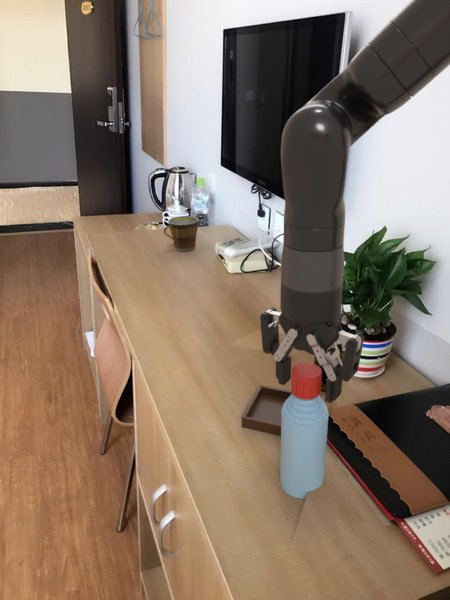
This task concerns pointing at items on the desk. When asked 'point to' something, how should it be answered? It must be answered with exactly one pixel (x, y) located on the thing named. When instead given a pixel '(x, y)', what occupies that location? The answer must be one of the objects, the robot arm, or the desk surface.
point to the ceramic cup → (183, 232)
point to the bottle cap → (306, 380)
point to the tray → (266, 410)
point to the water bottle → (303, 445)
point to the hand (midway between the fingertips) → (306, 390)
